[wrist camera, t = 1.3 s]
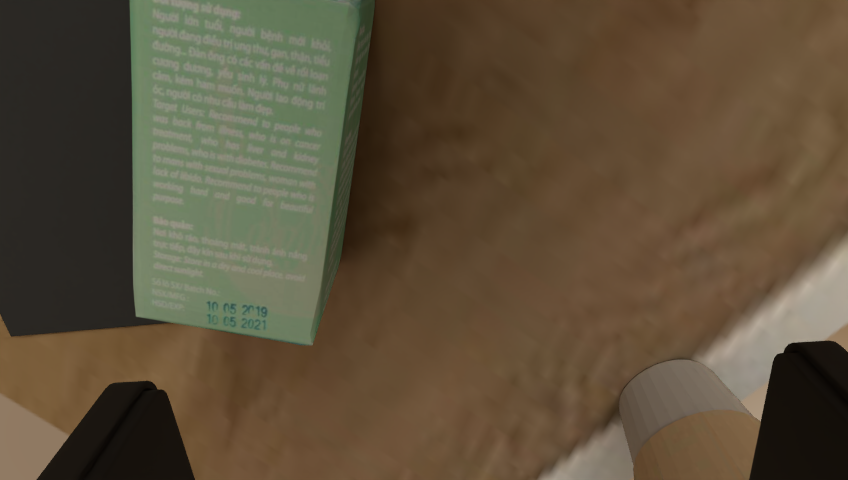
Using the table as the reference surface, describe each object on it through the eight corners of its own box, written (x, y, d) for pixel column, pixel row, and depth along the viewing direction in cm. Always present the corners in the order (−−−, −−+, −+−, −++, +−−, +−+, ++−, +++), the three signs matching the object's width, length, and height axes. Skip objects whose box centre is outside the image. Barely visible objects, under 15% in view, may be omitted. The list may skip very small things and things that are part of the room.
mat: (-183, -76, 24) (-185, -76, 24) (103, -112, 24) (102, -113, 24) (12, 335, 33) (10, 336, 33) (226, 316, 32) (226, 317, 32)
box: (380, -17, 25) (362, -8, 18) (342, 265, 31) (317, 353, 24) (202, -52, 25) (116, -55, 18) (197, 242, 30) (129, 324, 23)
